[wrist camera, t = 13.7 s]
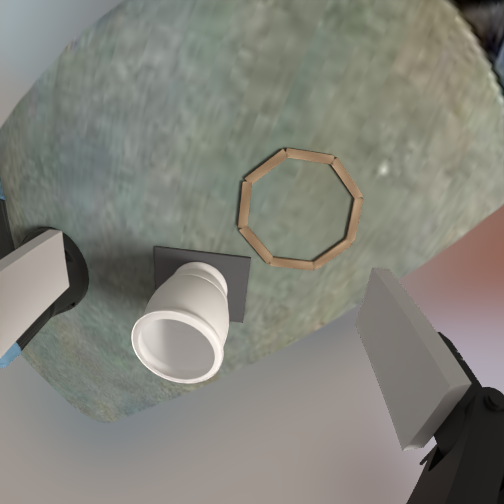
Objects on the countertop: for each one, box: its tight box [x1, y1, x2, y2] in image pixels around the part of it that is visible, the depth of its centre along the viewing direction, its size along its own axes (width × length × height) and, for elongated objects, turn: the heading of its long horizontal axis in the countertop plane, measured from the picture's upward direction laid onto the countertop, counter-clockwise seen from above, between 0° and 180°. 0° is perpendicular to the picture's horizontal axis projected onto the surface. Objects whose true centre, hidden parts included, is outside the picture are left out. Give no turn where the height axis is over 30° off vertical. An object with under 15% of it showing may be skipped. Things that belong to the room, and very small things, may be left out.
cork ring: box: [238, 148, 363, 270], centre depth 41 cm, size 16×16×1 cm
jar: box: [132, 262, 229, 383], centre depth 38 cm, size 11×10×15 cm
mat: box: [155, 246, 251, 323], centre depth 45 cm, size 14×11×1 cm
